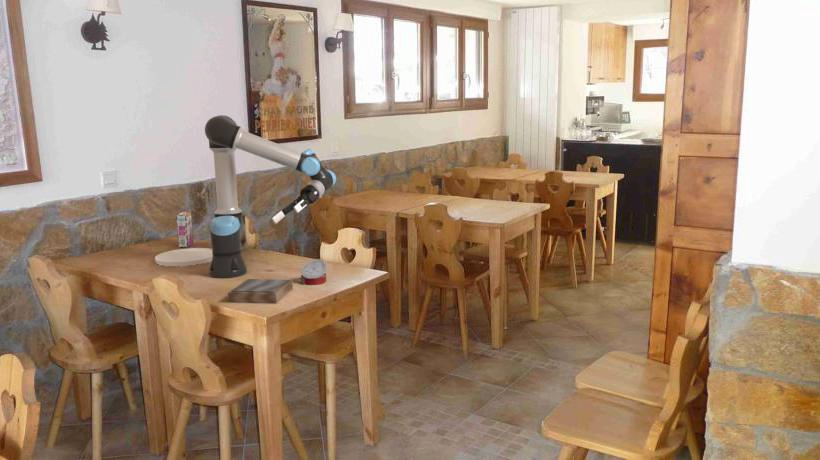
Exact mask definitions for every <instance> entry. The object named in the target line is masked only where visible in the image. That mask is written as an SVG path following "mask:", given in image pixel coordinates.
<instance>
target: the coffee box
mask: <svg viewBox="0 0 820 460" xmlns="http://www.w3.org/2000/svg"><path fill="white" fill-rule="evenodd" d="M242 217H243V222H244V226H245V228H244V233H243V235H242V236H241V237H240V241H241V251H242V249H243V250H244V249H247V248H248V243H247V242H248V241H247V240H248V239H247V227H246V216H245V215H243V214H242Z"/></svg>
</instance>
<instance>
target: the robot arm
mask: <svg viewBox="0 0 820 460" xmlns="http://www.w3.org/2000/svg"><path fill="white" fill-rule="evenodd" d="M204 134H205V136H206V138H207V139H208V145H209V146H208V148H209V150H210V151H212V152H213V160H214V162H213V164H214V176H215V177H214V178H215V189H216V190H215V191H216V202H217V203H216V204H217V208H216V210H215V211H214V213H213V214H214V218H212V219H211V220H210V223H209V230H210V242H211V249H212V255H213V257H212V261H211V262H210V266H209V270H208V271H209V276H210V277H212V278H217V279H218V278H219V279H225V278H226V279H228V278H235V277H239V276H243V275H246V274H247V273H248V269H247V265H246V262H245V259H244V257H243V255H242V250H241V241H240V237H241V236H242V235H243V233H244V228H245V226H244V222H243V217H242V215H243V209H241V208H240V207H239V201H238V186H237V184H238V183H237V171H236V170H237V169H236V157H235V156H236V155H235V152H236V150H237V149H239V150H241V151H243V152H247V153H249V154H252V155H254V156H257V157H260V158H262V159H265V160H268V161H270V162H274V163H277V164H279V165H281V166H283V167H287V168H289V169H292V170H294V171H297V172H300V173H302V174H304V175H305V176H308V177H309V178H310V179H311V181H309V182H308V183H307V184H306V185H305V186H304V187H303V188H301V190H300V191H299V192H300V193H299V196H298V197H297V198H295V199H294V200H293V201H291V202H290V203H289V204H287V205H286V206H284V207H283V208H282V209H281V210H278V211H277V213H276V214H275V215H273V217H272V218H271V220H272V222H273V223H274V224H275V225H277V224H278V223H279V222H280V221H281V220H283V219H285V218H286V216H287V215H288V214H289V213H291V212H292V211H295V212H296V213H297V214H298V213H300V211H302V210H303V209H304V208H305V207H306V206H308V205H311V204H314V203H315V202H317V200H319V199H322V197H323V195H324V194H325V193H326V192H328V191H329V190H330V189H331V188H332V187H333V186H334V185H335V184H336V182H337V176H336V173H334V172H333V171H332V170H330V169H326V167H324V166H323V164H322V163H321V161H320V160H319V158H318V156H317V154H316V152H315V151H314V150H313V149H312V148H308V149H306V150H304V151H302V152H301V151H298V150H295V149H292V148H289V147H287V146H284V145H282V144H279V143H276V142H274V141H271V140H269V139H266V138H263V137H262V136H258V135H256V134H253V133H251V132H248V131H245V130H243V127H242V126H239V125H237V122H236V121H235V120H234V119H233V118H232V117H230V116H228V115H223V114H221V115H220V114H219V115H216V116H213V117H211V118H209V119H208V120H207V122H206V123H205V126H204Z"/></svg>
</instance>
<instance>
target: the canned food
mask: <svg viewBox="0 0 820 460" xmlns="http://www.w3.org/2000/svg"><path fill="white" fill-rule="evenodd" d="M327 269H328V268H327V265H326V263H325V261H324V260H321V259H319V258H317V259H313V260H311V261H308V262H307V263H306V264H304V265H303V267H302V268H301V272H300V273H301V275H300V278H301V279H300V281H301V284H302V285H304V286H319V285H323V284H325V282H327V273H326V272H327Z"/></svg>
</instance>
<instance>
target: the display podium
mask: <svg viewBox="0 0 820 460" xmlns="http://www.w3.org/2000/svg"><path fill="white" fill-rule="evenodd" d="M293 284H294V282H293V280H292V279H265V278H264V279H263V278H261V279H258V278H248V279H245V280H244V281H243V282H241V283H239V284H238V285H237V286H235V287H234V288H232V289H231V290H229V291H228V292H227V299H228V300H227V301H228V303H240V302H245V303H244V304H246V302H248V303H247V304H250V303H251V304H278V303H279V302H280V301H281V300H282V299H283V298H285V297H286V296H287V295H288V294H289V293H290V292H292V291H293V289H294V285H293ZM277 302H278V303H277Z"/></svg>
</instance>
